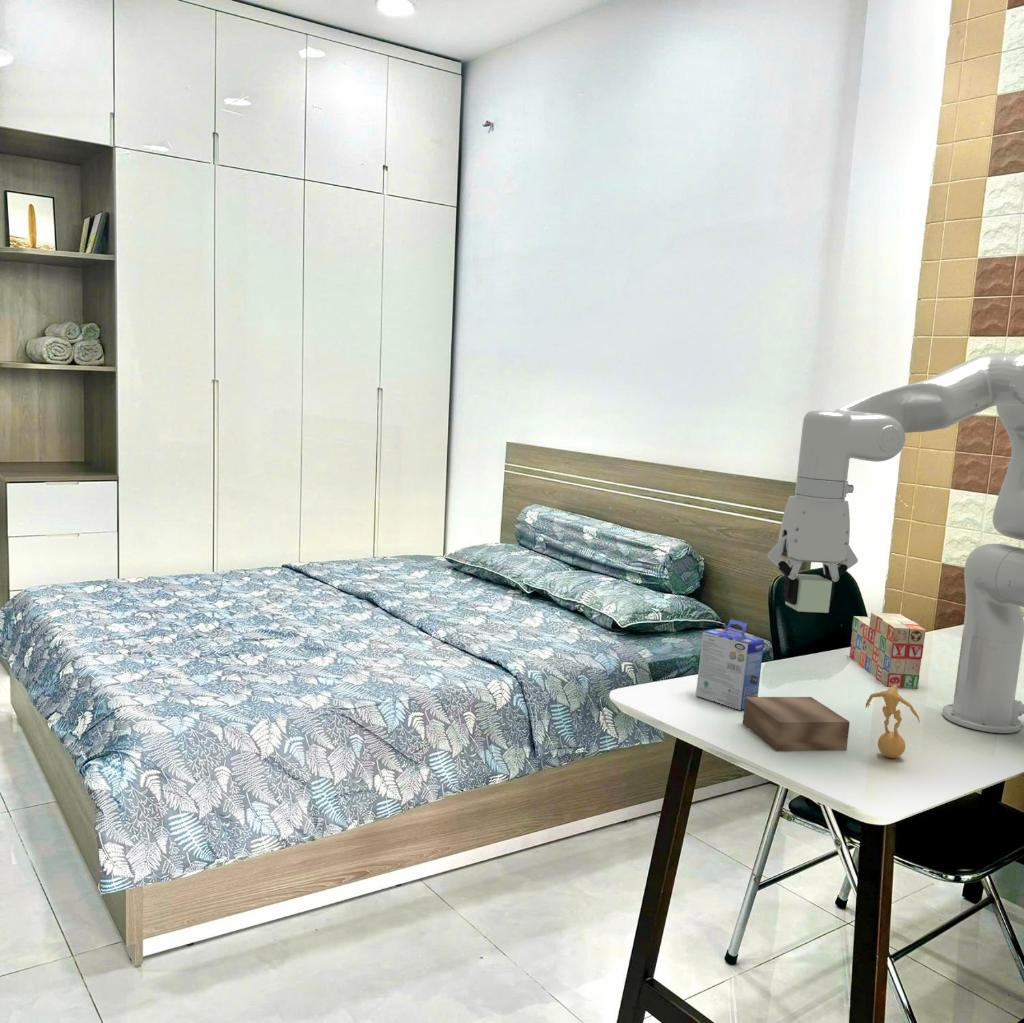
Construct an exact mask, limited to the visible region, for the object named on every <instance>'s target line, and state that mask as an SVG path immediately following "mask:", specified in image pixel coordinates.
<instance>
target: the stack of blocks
mask: <svg viewBox="0 0 1024 1023" xmlns="http://www.w3.org/2000/svg"><path fill="white" fill-rule="evenodd" d="M851 624H852V625H851V631H852V632H851V640H850V649H849V657H850V658H851V659H852V660H853V661H854V662H855V663H857V665H859V666H860V667H861V668H862V669H863V670H865V671H866V672H867V673H869V674H870V675H871V676H872V677H874V678H875V679H876V680H877V681H878V682H879V683H881V684H882V685H884V687H886V688H890V687H891V686H892V685H896V686H897V688H898V689H906V690H907V689H908V690H909V689H910V690H918V688H919V682H920V671H921V666H922V664H921V663H922V659H923V653H924V644H925V639H926V632H927V630H926V629H925V628H924V627H923V626H920V624H919V623H917V622H915V621H913V620H911V619H909V618H908V617H905V616H904V615H903V614H900V613H886V612H874V611H873V612H870V616H858V615H857V616H855V615H854V616H853V618H852V623H851Z"/></svg>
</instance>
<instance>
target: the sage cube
mask: <svg viewBox="0 0 1024 1023" xmlns="http://www.w3.org/2000/svg"><path fill="white" fill-rule="evenodd" d="M797 580H799V586H798V595H797V603H796V605H792V604H790V603H788V602H786V601H784V603H785V605H786V606H787V607H789V608H791V609H793V610H795V611H797V612H799V613H800V612H803V613H804V612H805V613H824V614H828V613H829V612H830V606H829V604H830V596H831V588H832V581H830V580H828V579H825V578H824V576H821V575H818V574H805V573H804V574H803V573H798V574H797Z"/></svg>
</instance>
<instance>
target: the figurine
mask: <svg viewBox="0 0 1024 1023" xmlns="http://www.w3.org/2000/svg"><path fill="white" fill-rule="evenodd" d="M898 689H899V688H897V686H896V685H892V686H891V687H888V688H887V690H885V691H884V690H883V691H880V692H875V693H871V694H870V695H869V698H868V699H867V700H866V703H865V709H867V708H869V706H871V704H870V703H871V702H872V700H873V698H879V697H881V698H882V699H883V700H884V703H885V705H884V706H882V712H883V716H884V717H885V720H884V721H883V724H884V730H885V732H884V733H882V734H881V735H880V736H879V738H878V741H877V748H878V751H879V752H880V753H881V754H882V755H883V756H884V757H886V758H887V759H896V758H899V757H901V756H902V755H903V754H904V752H905V749H906V742H905V740H904V738H903V737H902V736H901V735H900V733H898V729H899V727H900V724H901V722H902V721H903V718H902V716H901V710H900V709H897V706H898V704H899V703H902V704H903V705H905V706H906V707H908V708H909V709H910V711H911V713H912V714H913V715H914V716H915V717H916V719H917V721H918V723H920V721H921V720H920V717H919V715H918V713H917V711H916V710H915V709H914V707H913V705H912V704H911V703H910V702H908V700H906V699H904V698H903V697H902V696H901V695H900V694H899V693H898V692H899V691H898ZM892 715H893V718H894V719H895V720H896V721H897V722H895V723H894V725H893V731H890V730H889V727H888V725H889V723H890V722H889V721H890V717H891V716H892Z"/></svg>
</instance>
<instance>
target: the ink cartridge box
mask: <svg viewBox="0 0 1024 1023" xmlns="http://www.w3.org/2000/svg"><path fill="white" fill-rule="evenodd" d="M734 625H736V626H737V625H738V626H740V627H741V628H742V629H738V628H734V627H732V626H734ZM748 625H749V624H748V623H747V622H743V621H739V620H735V619H732V618H730V620H729V622H728V624H727V625H726V628H725V629H722V628H714V629H708V630H707V629H706V630H704V631H702V635H701V636H702V638H701V645H700V646H701V647H700V652H699V653H700V655H699V665H698V670H697V671H698V673H697V681H696V688H695V696H696V697H699V698H702V699H705V700H707V701H711V702H714V701H715V702H714V703H716V704H719V703H720V705H722V704H724V705H723V706H725V705H726V706H725V707H728V706H729V707H728V708H731V707H732V709H734V708H735V709H734V710H737V709H738V710H737V711H744V710H743V709H744V705H745V697H759V689H760V688H759V687H760V679H761V670H762V663H763V662H762V661H763V653H764V645H765V644H764V643H765V640H764V639H763V638H758V637H754V636H749V635H746V634H745V633H746V630H747V627H748Z"/></svg>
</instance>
